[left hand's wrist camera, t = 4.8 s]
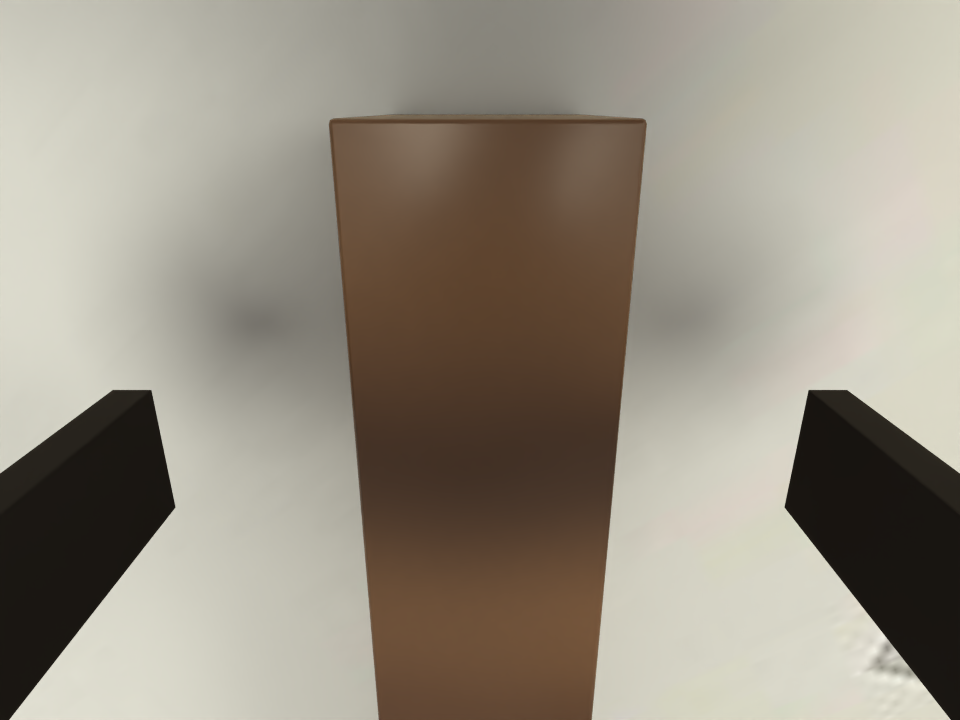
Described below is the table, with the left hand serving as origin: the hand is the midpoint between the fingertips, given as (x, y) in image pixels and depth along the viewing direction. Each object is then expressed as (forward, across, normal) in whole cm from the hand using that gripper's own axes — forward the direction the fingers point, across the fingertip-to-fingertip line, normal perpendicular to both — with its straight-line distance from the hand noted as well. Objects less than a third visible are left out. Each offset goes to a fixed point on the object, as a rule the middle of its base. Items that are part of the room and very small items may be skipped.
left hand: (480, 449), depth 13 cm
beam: (+9, 0, -19) cm, 21 cm away
